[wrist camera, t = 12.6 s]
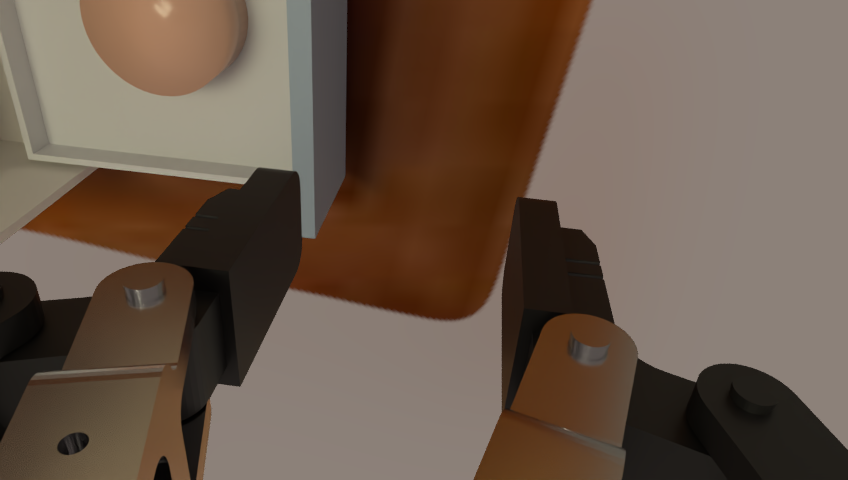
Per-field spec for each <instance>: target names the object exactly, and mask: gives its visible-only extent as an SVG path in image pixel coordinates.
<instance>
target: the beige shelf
mask: <svg viewBox="0 0 848 480" xmlns="http://www.w3.org/2000/svg"><path fill="white" fill-rule="evenodd" d="M98 168H99V167H91V166H82V165H74V164H65V163H56V162H47V161H39V160H30V159H28V156H27V152H26V149H25V145H24V141H23V137H22V134H21V130H20V126H19V123H18V119H17V115H16V111H15V108H14V104H13V100H12V97H11V93H10V89H9V86H8V82H7V78H6V74H5V71H4V67H3V63H2V60H1V56H0V244H1V243H3V242H4V241H5V240H7V239H8V238H9V237H10V236H11V235H13V234H14V233H16V232H17V231H18V230H19V229H21V228H22V227H23V226H25V225H26V224H27V223H28V222H30V221H31V220H32V219H34V218H35V217H36V216H37V215H39V214H40V213H41V212H42V211H44V210H45V209H46V208H48V207H49V206H50V205H51V204H53V203H54V202H55V201H57V200H58V199H59V198H60V197H62V196H63V195H64V194H66V193H67V192H68V191H69V190H71V189H72V188H73V187H75V186H76V185H77V184H78V183H80V182H81V181H82V180H83V179H85V178H86V177H87V176H89V175H90V174H91V173H92V172H94V171H95V170H96V169H98Z"/></svg>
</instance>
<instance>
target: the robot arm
mask: <svg viewBox="0 0 848 480" xmlns="http://www.w3.org/2000/svg"><path fill="white" fill-rule="evenodd" d="M301 250H302V224H301V190H300V178H299V174H298V172H296V171H289V170H280V169H271V168H262V167H258V168H257V169H256V170H255V171H254V173H253V174H252V175H251V176H250V178H249V179H248V180H247V182H246V183H245V184H244V185H243V187H242V188H241V189H240V190H237V189H227V190H225V191H223V192H221V193H219V194H218V195H216V196H214V197H212V198H210V199H208V200H207V201H206V202H205V204H204V205H203V206H202V207H201V208H200V209H199V211H198V212H197V213H196V216H195V217H193V218H192V219H191V220H190V221H189V222H188V224H187V225H186V228H185V229H182V231H181V232H180V233H179V234H178V235H177V237H176V238H175V239H174V240H173V241H172V242H171V244H170V245H169V246H168V247H167V248H166V249H165V251H164V252H163V253H162V254H161V255H160V257H159V258H158V259H157V260H156V261H155V262H149V263H141V264H135V265H132V266H128V267H126V268H122V269H120V270H118V271H116V272H114V273H112V274H110V275H109V276H107V277H106V278H105V279H104V280H102V281H101V282H100V283H99V284H98V286H97V288H96V289H95V291H94V294H93V296H92V297H85V298H72V299H59V300H48V301H40V297H39V294H38V291H37V287H36V284H35V283H34V281H33V280H32V279H30V278H29V277H27V276H25V275H23V274H19V273H14V272H0V480H203V475H204V467H205V459H206V452H207V444H208V436H209V429H210V421H211V404H210V397H211V395H212V393H213V391H214V389H215V387H216V386H217V384H224V385H232V386H239V387H240V386H241V384H242V382H243V380H244V378H245V376H246V374H247V372H248V370H249V368H250V366H251V364H252V362H253V360H254V358H255V356H256V354H257V352H258V350H259V347H260V345H261V343H262V341H263V339H264V337H265V335H266V333H267V331H268V329H269V327H270V325H271V323H272V321H273V319H274V317H275V315H276V313H277V311H278V309H279V307H280V305H281V302H282V301H283V298H284V297H285V294H286V292H287V290H288V288H289V286H290V284H291V282H292V280H293V278H294V276H295V274H296V272H297V269H298V266H299V262H300V257H301ZM599 265H600V261H599V257H598V252H597V248H596V245H595V244H594V243H593V242H592V241H591V240H590V239H589V238H588V237H587V236H586V234H584V232H583V231H582V230H578V229H568V228H561V227H560V221H559V215H558V208H557V203H556V201H548V200H539V199H530V198H522V197H518V198H517V201H516V205H515V210H514V216H513V222H512V228H511V233H510V239H509V245H508V251H507V257H506V263H505V269H504V277H503V287H502V413H501V415H500V417H499V420H498V422H497V424H496V427H495V429H494V432H493V434H492V437H491V439H490V441H489V444H488V446H487V448H486V451H485V453H484V456H483V458H482V461H481V463H480V465H479V468H478V470H477V472H476V475H475V477H474V480H848V450H847V449H846V448H845V447H844V446H843V444H842V443H841V442H840V441H839V440H838V439H837V438H836V437H835V436H834V435H833V434H832V433H831V432H830V431H829V430H828V428H827V427H826V426H825V425H824V424H823V423H822V422H821V421H820V420H819V419H818V418H817V417H816V416H815V415H814V414H813V413H812V411H810V409H809V408H808V407H807V406H806V405H805V404H804V403H803V402H802V401H801V400H800V399H799V398H798V396H797V395H796V394H795V393H794V392H792V390H790V389H789V388H788V387H787V386H785V385H784V384H783V383H782V382H780V381H778V380H777V379H775V378H773V377H772V376H770V375H768V374H766V373H764V372H761V371H759V370H757V369H753V368H750V367H747V366H742V365H738V364H718V365H713V366H710V367H708V368H706V369H704V370H703V371H702V372H701V373H700V374H699V377H698V379H697V382H693V381H690V380H687V379H684V378H681V377H679V376H676V375H673V374H670V373H667V372H664V371H662V370H659V369H657V368H654V367H652V366H651V365H649V364H647V363H645V362H643V361H642V360H640V359H638V351H637V347H636V345H635V343H634V341H633V340H632V339H631V337H630V336H629V335H628V334H627V333H626V332H625V331H624V330H622V329H621V328H619V327H618V326H616V325H615V324H614V320H613V315H612V311H611V307H610V303H609V299H608V295H607V291H606V286H605V282H604V280H603V273H602V269H601V266H599Z"/></svg>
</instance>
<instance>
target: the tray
mask: <svg viewBox="0 0 848 480" xmlns="http://www.w3.org/2000/svg"><path fill="white" fill-rule="evenodd" d="M245 2H246V6H247V12H248V31H247V37H246V41H245V44H244V46H243V49H242V51H241V53H240V54H239V56H238V57H237V59H236V60H235V61H234V62H233V63H232V64H231V65H230V66H229V67H228V68H226V69H225V70H224V71H222V72H221V73H220V74H219V75H217V76H216V77H215V78H214V79H212V80H211V81H210V82H209V83H207V84H206V85H205V86H204V87H202V88H200V89H199V90H197V91H195V92H192V93H189V94H186V95H181V96H161V95H156V94H152V93H148V92H145V91H143V90H141V89H138V88H136V87H134V86H132V85H131V84H129V83H127V82H126V81H124V80H123V79H122V78H120V77H119V76H118V75H117V74H115V73H114V72H113V71H112V70H111V69H110V68H109V67H108V66H107V65H106V64H105V63H104V62H103V60H102V59H101V58H100V56H99V55H98V54H97V52H96V51H95V49H94V47H93V46H92V44H91V42H90V40H89V38H88V36H87V34H86V31H85V28H84V25H83V21H82V17H81V12H80V0H0V56H1V60H2V63H3V67H4V71H5V74H6V78H7V82H8V86H9V89H10V93H11V97H12V100H13V104H14V108H15V111H16V115H17V119H18V123H19V126H20V130H21V134H22V137H23V141H24V145H25V149H26V152H27V156H28V159H30V160H39V161H47V162H56V163H65V164H74V165H82V166H91V167H100V168H108V169H117V170H126V171H135V172H143V173H152V174H161V175H169V176H178V177H187V178H196V179H204V180H213V181H222V182H230V183H239V184H245V183H246V182H247V180H248V179H249V178H250V176H251V175H252V174H253V173H254V171H255V170H256V169H257V168H258V167H262V168H271V169H280V170H289V171H296V172H298V174H299V178H300V190H301V224H302V237H305V238H314V239H315V238H316V236H317V234H318V231H319V229H320V227H321V225H322V223H323V221H324V219H325V217H326V215H327V213H328V211H329V209H330V207H331V205H332V203H333V201H334V198H335V196H336V194H337V192H338V190H339V188H340V186H341V184H342V182H343V180H344V178H345V158H346V66H347V0H245Z"/></svg>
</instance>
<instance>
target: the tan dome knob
mask: <svg viewBox="0 0 848 480" xmlns="http://www.w3.org/2000/svg"><path fill="white" fill-rule="evenodd" d="M80 12H81V17H82V21H83V25H84V28H85V31H86V34H87V36H88V38H89V40H90V42H91V44H92V46H93V47H94V49H95V51H96V52H97V54H98V55H99V56H100V58H101V59H102V60H103V62H104V63H105V64H106V65H107V66H108V67H109V68H110V69H111V70H112V71H113V72H114V73H115V74H117V75H118V76H119V77H120V78H122V79H123V80H124V81H126V82H127V83H129V84H131V85H132V86H134V87H136V88H138V89H141V90H143V91H145V92H148V93H152V94H156V95H161V96H181V95H186V94H189V93H192V92H195V91H197V90H199V89H200V88H202V87H204V86H205V85H206V84H207V83H209V82H210V81H211V80H212V79H214V78H215V77H216V76H217V75H219V74H220V73H221V72H222V71H224V70H225V69H226V68H228V67H229V66H230V65H231V64H232V63H233V62H234V61H235V60H236V59H237V57H238V56H239V54H240V53H241V51H242V49H243V46H244V44H245V41H246V37H247V31H248V12H247V6H246V2H245V0H80Z"/></svg>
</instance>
